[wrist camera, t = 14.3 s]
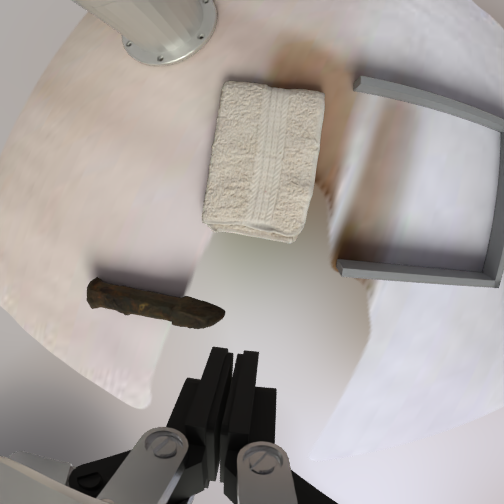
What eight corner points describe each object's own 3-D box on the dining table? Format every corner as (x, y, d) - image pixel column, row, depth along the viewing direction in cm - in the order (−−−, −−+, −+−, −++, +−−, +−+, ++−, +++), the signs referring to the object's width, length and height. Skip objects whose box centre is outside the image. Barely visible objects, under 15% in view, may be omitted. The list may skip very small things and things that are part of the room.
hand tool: (99, 299, 42) (83, 312, 37) (98, 274, 41) (81, 286, 36) (223, 327, 41) (217, 345, 37) (226, 300, 40) (220, 317, 36)
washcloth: (204, 227, 38) (198, 232, 35) (223, 82, 33) (218, 75, 30) (301, 242, 37) (303, 249, 34) (324, 95, 32) (328, 89, 29)
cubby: (353, 83, 31) (361, 75, 28) (506, 128, 30) (521, 127, 26) (336, 266, 37) (341, 276, 34) (486, 279, 36) (498, 287, 33)
